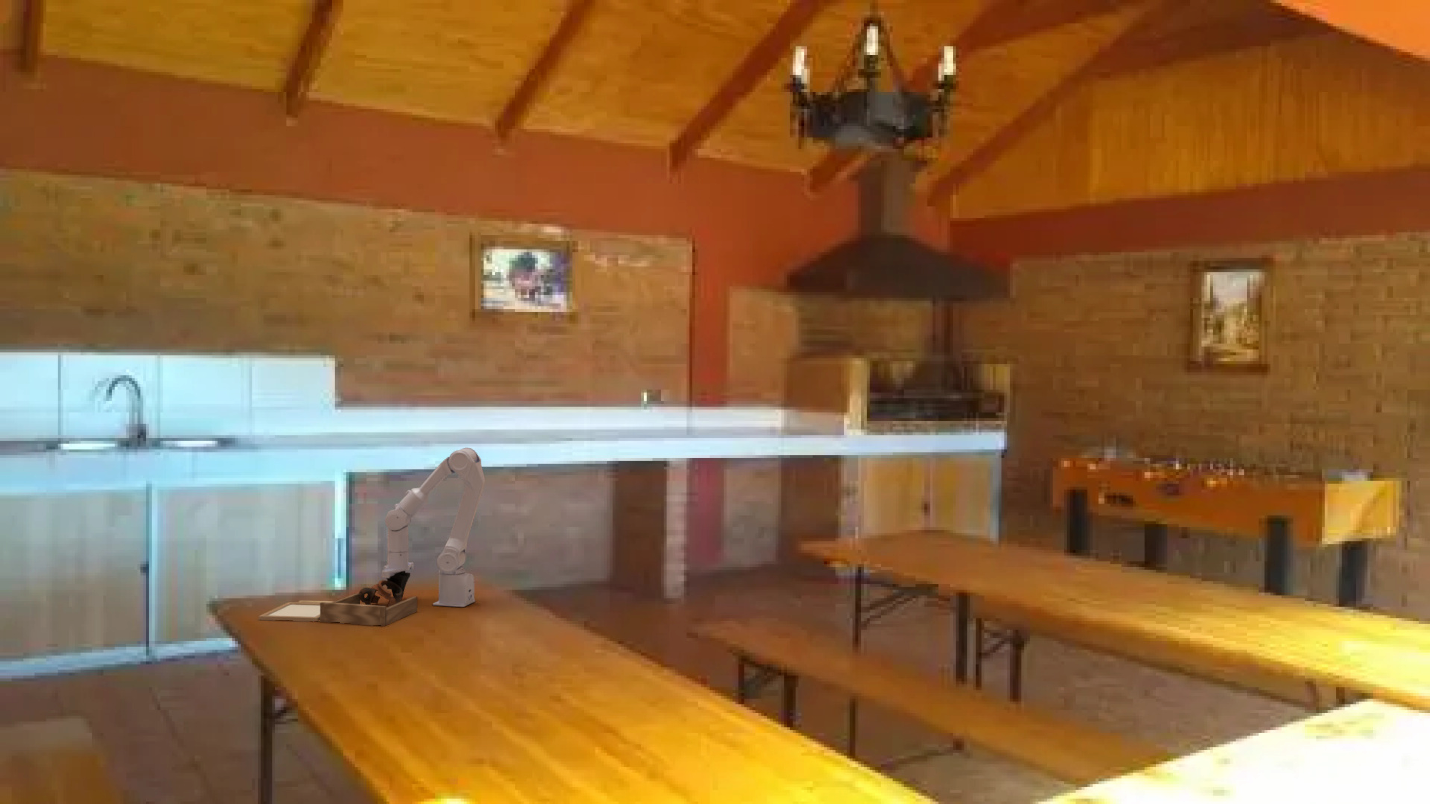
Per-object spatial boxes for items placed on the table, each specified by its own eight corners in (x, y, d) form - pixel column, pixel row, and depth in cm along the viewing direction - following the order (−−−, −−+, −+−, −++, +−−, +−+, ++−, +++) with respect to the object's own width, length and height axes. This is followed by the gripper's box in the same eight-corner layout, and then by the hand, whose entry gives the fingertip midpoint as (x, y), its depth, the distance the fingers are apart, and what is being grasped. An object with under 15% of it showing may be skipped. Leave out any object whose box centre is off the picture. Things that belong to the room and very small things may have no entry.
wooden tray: (417, 611, 307) (417, 593, 307) (384, 626, 290) (384, 607, 290) (356, 607, 311) (356, 589, 311) (320, 621, 294) (320, 602, 294)
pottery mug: (384, 603, 319) (397, 579, 318) (397, 623, 313) (411, 598, 312) (347, 598, 310) (360, 574, 309) (360, 619, 304) (374, 594, 303)
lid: (348, 605, 314) (348, 601, 314) (317, 621, 294) (317, 618, 294) (293, 603, 315) (293, 600, 315) (258, 620, 295) (258, 616, 295)
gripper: (398, 546, 325) (397, 592, 325) (371, 554, 311) (371, 603, 311) (420, 547, 323) (420, 594, 324) (394, 556, 309) (394, 604, 310)
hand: (398, 598), depth 317 cm, fingers closed
